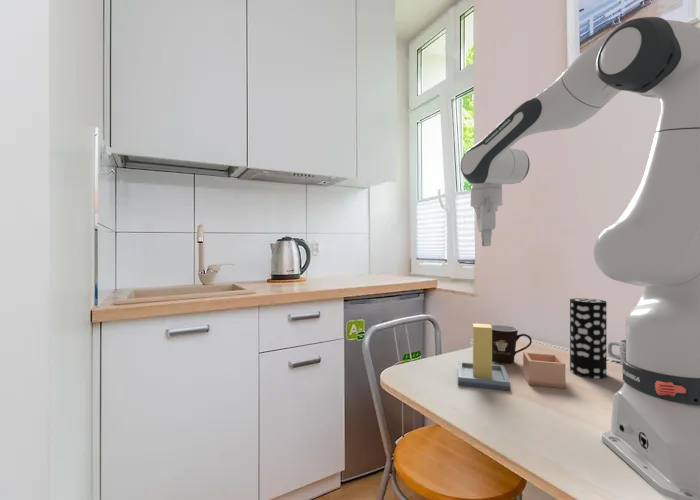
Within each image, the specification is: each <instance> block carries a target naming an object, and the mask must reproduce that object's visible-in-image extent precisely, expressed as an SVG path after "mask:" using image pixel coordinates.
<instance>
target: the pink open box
mask: <svg viewBox="0 0 700 500" xmlns="http://www.w3.org/2000/svg"><path fill="white" fill-rule="evenodd" d="M522 352H523V353H522V355H523V356H522V359H523V361H522V363H523V364H522V367H523V369H522V371H523V374H522V375H523V376H524V378H525V380H526V382H527V384H528V386H535V387H537V386H538V387H544V388H545V387H547V388H548V387H549V388H557V389H566V363H565V362H564V361H563V360H562V359H561V358H560V356H559V355H558V354H553V353H542V352H541V353H540V352H528V351H527V352H526V351H522Z"/></svg>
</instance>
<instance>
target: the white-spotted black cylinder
mask: <svg viewBox="0 0 700 500" xmlns="http://www.w3.org/2000/svg"><path fill="white" fill-rule="evenodd" d="M607 327H608V326H607V301H606V300H602V299H596V298H582V297H581V298H577V297H576V298H570V299H569V371H570V373H572V374H575V375H576V376H579V377H583V378H588V379H605V378H607V372H608V371H607V369H608V368H607V367H608V366H607V362H608V360H607V357H608V355H607V353H608V344H607Z"/></svg>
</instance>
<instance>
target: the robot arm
mask: <svg viewBox="0 0 700 500" xmlns="http://www.w3.org/2000/svg"><path fill="white" fill-rule="evenodd" d="M622 91H626V92H630V93H633V94H637V95H640V96H643V97H646V98H652V99H653V98H655V99H656V98H657V99H658V101H659V103H660V112H659V117H658V120H657V123H656V126H655V127H656V128H655V131H654V132H655V133H654V134H653V139H652V143H651V147H650V151H649V155H648V158H647V162H646V164H645V165H646V166H645V169H644V173H643V175H642V178H641V181H640V183H639V185H638V187H637V189H636V191H635V193H634V195H633V197H632V198H631V200H630V201H629V203H628V204H627V207H626V208H625V209H624V211H623V212H622V213H621V215H620V216H619V217H618V218H617V219H616V221H614V222H613V223H612V224H611V225H609V226H608V227H607V228H605V229H604V230H603V231H602V232H601V233H599V235H598V237H597V238H596V240H595V243H594V246H593V258H594V261H595V264H596V266H597V268H598V269H599V270H600V271H601V273H602V274H603V275H604V276H606V277H608V278H609V279H612V280H614V281H615V282H616V281H617V282H621V283H625V284H627V285H628V284H629V285H633V286H639V287H640V286H641V287H643V289H642V292H641V295H640V297H639V299H638V301H637V303H636V305H635V306H634V307H633V308H632V309H631V310H630V311H629V312H628V314H627V316H626V319H625V340H626V359H624V360H623V365H622V367H621V370H622V371H621V372H622V381H624V383H623V385H622V387H621V388H620V389H619V390H618V391H616V392H615V393H614V395H613V398H612V411H611V421H610V423H611V426H610V430H609V431H606V432H602V434H601V441H602V442H603V443H605V445H606V446H608V447H609V448H610V449H611V450H612V451H614V453H615V454H616V455H618V456H619V457H620V458H621V459H622V460H623V461H624V462H626V463H627V465H628V466H629V467H631V468H632V469H633V470H634V471H636V473H638V474H639V475H640V476H641V477H642V478H643V479H644V480H645V481H646V482H648V483H649V484H650V485H651V486H652V487H653V488H654V489H655V490H657V492H659V493H660V494H661V495H664V496H665V497H668V498H669V499H670V498H671V499H674V500H700V27H699V26H696V25H694V24H693V23H688V22H683V21H679V20H672V19H671V20H670V19H665V18H662V17H660V16H659V17H658V16H645V17H637V18H634V19H631V20H627V21H625V22H623V23H622V24H621V25H618V27H616V28H615V29H614V30H613V31H610V32H608V33H606V34H604V35H603V36H601V37H600V38H599V39H597V40H596V41H595V42H593V43H592V44H591V45H590V46H589V47H588V48H587V49H585V50H584V51H583V52H582V53H581V54H580V55H579V56H578V57H577V58H576V59H575V60H574V61H573V62H572V63H571V64H570V65H569V66H568V67H567V68H566V69H565V70H564V71H563V72H562V73H561V75H560V76H559V77H558V78H557V79H556V80H554V81H553V82H552V83H551V84H550V85H549V86H547V87H546V88H544V90H542V91H541V92H539V93H538V94H536V95H535V96H533V97H532V98H530V99H528V100H526V101H525V102H523V103H521V104H520V105H519V106H517V107H516V108H515V109H514V110H513V111H511V112H510V114H508V116H506V117H505V118H504V119H503V120H502V121H501V122H500V123H498V125H497V126H496V127H494V128H493V129H492V130H491V131H490V132H489V133H488V134H487V135H485V137H484V138H483V139H482V140H481V141H478V142H476V143H475V144H473V145H472V146H471V147H470V148H469V149H467V150H466V151H465V152H464V154H463V156H462V158H461V161H460V170H461V174H462V176H463V177H464V178H465V180H466V181H467V182H468V183H469V184H471V188H470V207H472V208H473V209H474V211H475V214H476V215H475V216H476V222H477V223H476V224H477V230H478V232H479V233H481V234H480V235H481V236H480V237H481V246H482V247H490V246H491V245H492V234H493V230H495V229H496V225H497V222H496V220H497V219H496V218H497V217H496V216H497V215H496V212H498V207H501V206H502V205H503V185H515V184H519V183H521V182H522V181H523V180H524V179H525V178H526V177H527V176H528V173H529V170H530V167H531V166H530V165H531V164H530V163H531V162H530V158H529V156H528V153H526V152H525V150H521V149H518V148H511V147H513V146H514V145H515V144H517V143H518V142H519V141H520V140H522V139H524V138H526V137H528V136H531V135H535V134H539V133H544V132H550V131H552V132H553V131H559V130H567V129H571V128H572V129H573V128H575V127H577V126H580V125H581V124H583V123H585V122H587V121H588V120H589V119H591V118H592V117H594V116H595V115H596V114H598V112H599V111H601V110H602V109H603V108H604V107H605V106H606V105H607V104H608V103H609V102H610V101H611V100H612V99H614V98H615V96H617V95H618V94H619V93H620V92H622Z"/></svg>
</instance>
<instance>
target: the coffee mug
mask: <svg viewBox="0 0 700 500" xmlns="http://www.w3.org/2000/svg"><path fill="white" fill-rule="evenodd" d="M491 327H492V363H493V362H494V363H495V364H496V363H497V364H500V365H511V364H514V363H515V356H516V355H517V354H518V353H519V352H523V351H525V350H527V349H528V348H529V347H530V346H531V345H532V342H533V341H532V337H531V335H528V334H526V333H520V334H518V332H519V328H517V327H514V326H511V325H503V324H491ZM520 337H526V338H528V340H529V343H528V344H527V345H526V346H524V347H523V348H520V349H518V350H516V347H517V341H519V339H520Z"/></svg>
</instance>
